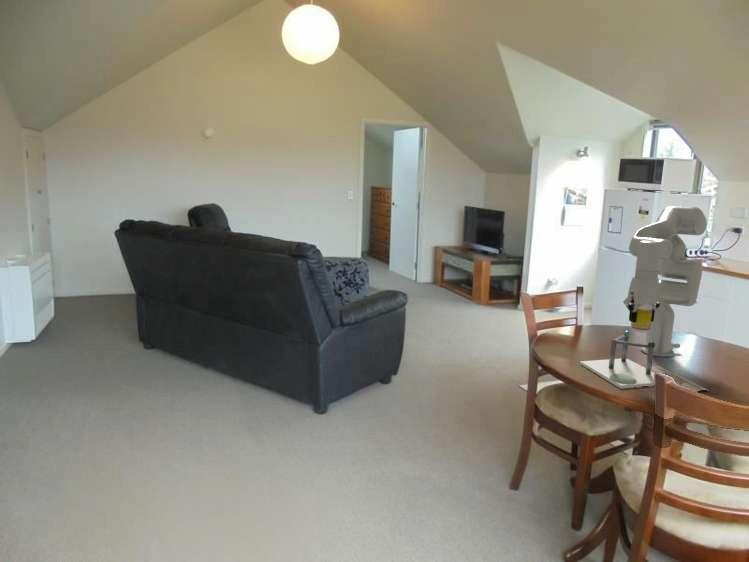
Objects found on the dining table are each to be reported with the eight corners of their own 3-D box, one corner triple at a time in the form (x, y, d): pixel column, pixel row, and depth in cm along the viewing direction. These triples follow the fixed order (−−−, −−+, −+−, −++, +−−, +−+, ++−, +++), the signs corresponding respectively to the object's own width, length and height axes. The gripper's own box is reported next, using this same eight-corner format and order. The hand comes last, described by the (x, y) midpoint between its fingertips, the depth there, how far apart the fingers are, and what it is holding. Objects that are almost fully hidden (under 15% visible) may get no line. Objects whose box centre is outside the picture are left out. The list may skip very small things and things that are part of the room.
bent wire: (624, 360, 213) (627, 329, 210) (653, 374, 197) (657, 342, 195) (597, 361, 210) (600, 331, 208) (624, 377, 195) (628, 344, 192)
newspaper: (709, 393, 185) (710, 389, 185) (692, 395, 184) (693, 390, 184) (660, 369, 208) (661, 365, 208) (645, 371, 206) (645, 366, 206)
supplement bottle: (652, 333, 193) (656, 299, 190) (632, 332, 194) (636, 298, 192) (647, 328, 199) (651, 295, 197) (628, 327, 201) (631, 294, 198)
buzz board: (625, 360, 215) (626, 357, 215) (671, 384, 191) (672, 380, 191) (580, 364, 211) (580, 360, 211) (620, 388, 187) (621, 384, 187)
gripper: (659, 271, 198) (654, 317, 201) (618, 273, 194) (614, 319, 198) (674, 275, 191) (668, 322, 194) (632, 277, 187) (627, 325, 191)
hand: (641, 320), depth 196 cm, fingers closed on supplement bottle, 6 cm apart
